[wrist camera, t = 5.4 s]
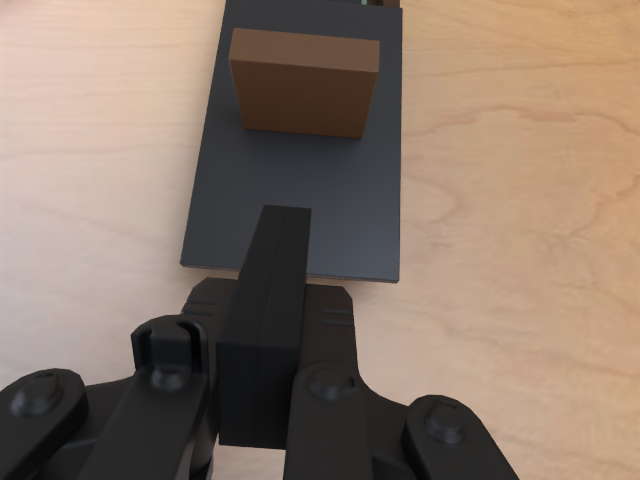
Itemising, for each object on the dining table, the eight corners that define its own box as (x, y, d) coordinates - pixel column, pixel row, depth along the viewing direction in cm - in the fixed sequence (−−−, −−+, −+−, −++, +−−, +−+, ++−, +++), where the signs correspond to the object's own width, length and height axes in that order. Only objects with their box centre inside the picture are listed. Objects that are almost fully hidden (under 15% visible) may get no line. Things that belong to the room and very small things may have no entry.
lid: (396, 283, 20) (431, 248, 15) (183, 267, 20) (140, 225, 15) (400, 16, 25) (427, -82, 20) (229, 0, 25) (210, -102, 20)
